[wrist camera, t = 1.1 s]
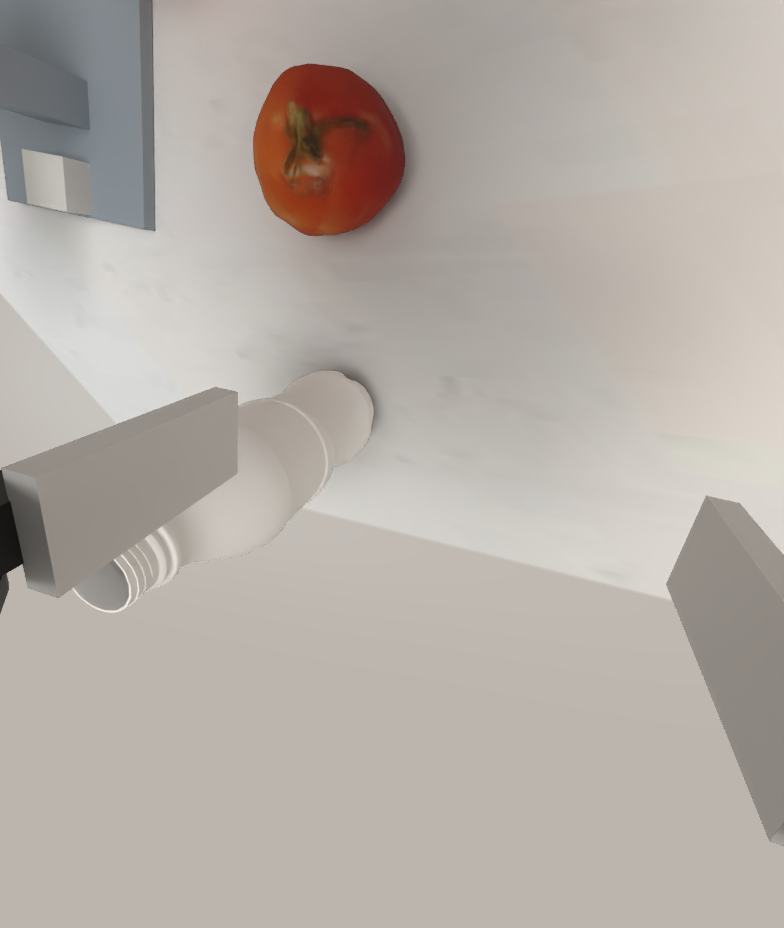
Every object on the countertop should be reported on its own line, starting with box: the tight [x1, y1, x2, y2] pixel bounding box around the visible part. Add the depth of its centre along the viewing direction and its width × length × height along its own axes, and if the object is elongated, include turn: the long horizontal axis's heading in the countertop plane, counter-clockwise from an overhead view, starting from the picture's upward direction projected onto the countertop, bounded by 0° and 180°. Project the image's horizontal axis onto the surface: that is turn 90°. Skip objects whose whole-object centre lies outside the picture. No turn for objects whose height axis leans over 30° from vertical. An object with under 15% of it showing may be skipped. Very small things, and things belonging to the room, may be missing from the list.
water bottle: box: [72, 370, 374, 612], centre depth 29 cm, size 7×7×25 cm
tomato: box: [253, 64, 405, 236], centre depth 30 cm, size 9×9×8 cm
